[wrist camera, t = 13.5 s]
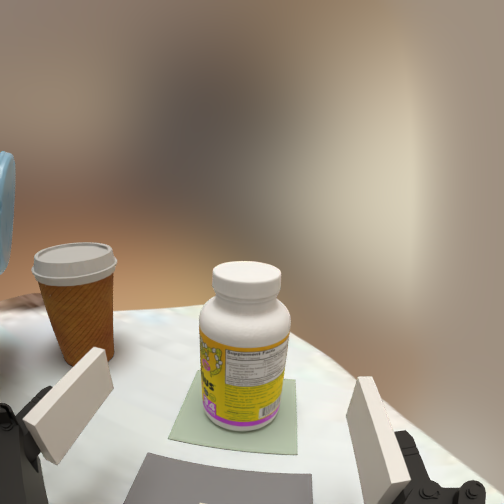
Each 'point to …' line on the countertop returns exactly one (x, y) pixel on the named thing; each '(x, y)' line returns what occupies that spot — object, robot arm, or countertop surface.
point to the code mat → (214, 485)
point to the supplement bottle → (243, 346)
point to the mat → (259, 440)
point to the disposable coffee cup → (78, 296)
